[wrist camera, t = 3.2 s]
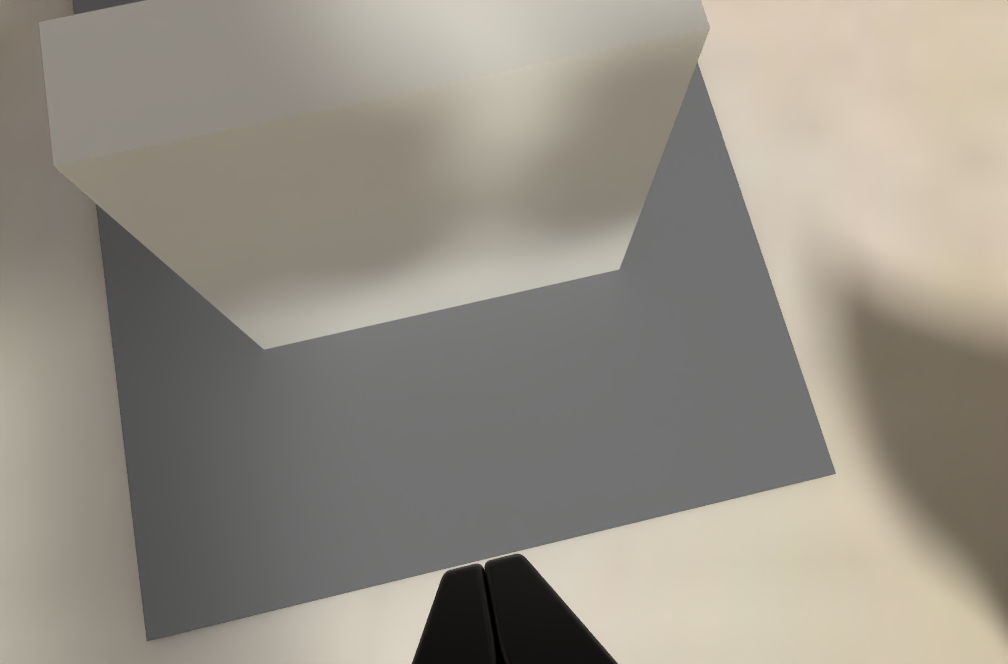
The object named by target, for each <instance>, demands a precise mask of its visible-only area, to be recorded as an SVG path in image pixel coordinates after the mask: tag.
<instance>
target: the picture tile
mask: <svg viewBox="0 0 1008 664" xmlns="http://www.w3.org/2000/svg"><path fill="white" fill-rule="evenodd" d="M38 23H39V33H40V43H41V52H42V62H43V72H44V82H45V92H46V101H47V111H48V121H49V131H50V140H51V150H52V160H53V167H55V168H56V169H57V170H58V171H59V172H60V173H62V174H63V175H64V176H65V177H66V178H67V179H68V180H70V181H71V182H72V183H73V184H74V185H75V186H76V187H78V188H79V189H80V190H81V191H82V192H83V193H84V194H86V195H87V196H88V197H89V198H90V199H91V200H93V201H94V202H95V203H96V204H97V205H98V206H99V207H101V208H102V209H103V210H104V211H105V212H106V213H107V214H109V215H110V216H111V217H112V218H113V219H114V220H116V221H117V222H118V223H119V224H120V225H121V226H122V227H124V228H125V229H126V230H127V231H128V232H129V233H130V234H132V235H133V236H134V237H135V238H136V239H137V240H139V241H140V242H141V243H142V244H143V245H144V246H145V247H147V248H148V249H149V250H150V251H151V252H152V253H153V254H155V255H156V256H157V257H158V258H159V259H160V260H162V261H163V262H164V263H165V264H166V265H167V266H168V267H170V268H171V269H172V270H173V271H174V272H175V273H176V274H178V275H179V276H180V277H181V278H182V279H183V280H185V281H186V282H187V283H188V284H189V285H190V286H191V287H193V288H194V289H195V290H196V291H197V292H198V293H199V294H201V295H202V296H203V297H204V298H205V299H206V300H208V301H209V302H210V303H211V304H212V305H213V306H214V307H216V308H217V309H218V310H219V311H220V312H221V313H222V314H224V315H225V316H226V317H227V318H228V319H229V320H231V321H232V322H233V323H234V324H235V325H236V326H237V327H239V328H240V329H241V330H242V331H243V332H244V333H245V334H247V335H248V336H249V337H250V338H251V339H252V340H254V341H255V342H256V343H257V344H258V345H259V346H260V347H262V348H263V349H264V350H265V349H269V348H274V347H278V346H282V345H287V344H291V343H296V342H300V341H305V340H309V339H313V338H318V337H322V336H327V335H331V334H336V333H340V332H344V331H349V330H353V329H358V328H362V327H367V326H371V325H375V324H380V323H384V322H389V321H393V320H398V319H402V318H406V317H411V316H415V315H420V314H424V313H429V312H433V311H437V310H442V309H446V308H451V307H455V306H460V305H464V304H468V303H473V302H477V301H482V300H486V299H491V298H495V297H499V296H504V295H508V294H513V293H517V292H522V291H526V290H530V289H535V288H539V287H544V286H548V285H553V284H557V283H561V282H566V281H570V280H575V279H579V278H584V277H588V276H592V275H597V274H601V273H606V272H610V271H615V270H619V269H620V266H621V264H622V261H623V258H624V256H625V253H626V250H627V248H628V245H629V242H630V240H631V237H632V234H633V232H634V229H635V226H636V224H637V221H638V218H639V216H640V213H641V210H642V208H643V205H644V202H645V200H646V197H647V194H648V192H649V189H650V186H651V184H652V181H653V178H654V176H655V173H656V170H657V168H658V165H659V162H660V160H661V157H662V154H663V152H664V149H665V146H666V144H667V141H668V138H669V136H670V133H671V130H672V128H673V125H674V122H675V120H676V117H677V114H678V112H679V109H680V106H681V104H682V101H683V98H684V96H685V93H686V90H687V88H688V85H689V82H690V80H691V77H692V74H693V72H694V69H695V66H696V64H697V61H698V58H699V56H700V53H701V50H702V48H703V45H704V42H705V40H706V37H707V34H708V32H709V29H710V26H709V23H708V20H707V18H706V15H705V12H704V9H703V6H702V3H701V0H145V1H140V2H135V3H130V4H125V5H120V6H115V7H110V8H105V9H100V10H95V11H90V12H85V13H80V14H75V15H70V16H65V17H60V18H55V19H50V20H45V21H40V22H38Z"/></svg>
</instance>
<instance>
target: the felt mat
mask: <svg viewBox="0 0 1008 664" xmlns="http://www.w3.org/2000/svg"><path fill="white" fill-rule="evenodd" d="M140 1H145V0H73V7H74V15H75V14H80V13H85V12H90V11H95V10H100V9H105V8H110V7H115V6H120V5H125V4H130V3H135V2H140ZM96 206H97V215H98V224H99V232H100V241H101V250H102V258H103V267H104V275H105V284H106V293H107V301H108V310H109V319H110V327H111V336H112V345H113V353H114V362H115V371H116V379H117V388H118V397H119V405H120V414H121V423H122V431H123V440H124V448H125V457H126V466H127V474H128V483H129V492H130V500H131V509H132V518H133V526H134V535H135V544H136V552H137V561H138V570H139V578H140V587H141V596H142V604H143V613H144V621H145V630H146V639H147V641H149V640H154V639H158V638H162V637H166V636H170V635H174V634H179V633H183V632H187V631H191V630H195V629H199V628H203V627H207V626H211V625H216V624H220V623H224V622H228V621H232V620H236V619H240V618H244V617H248V616H253V615H257V614H261V613H265V612H269V611H273V610H277V609H281V608H286V607H290V606H294V605H298V604H302V603H306V602H310V601H314V600H318V599H323V598H327V597H331V596H335V595H339V594H343V593H347V592H351V591H355V590H360V589H364V588H368V587H372V586H376V585H380V584H384V583H388V582H392V581H397V580H401V579H405V578H409V577H413V576H417V575H421V574H425V573H430V572H434V571H438V570H442V569H446V568H450V567H454V566H458V565H462V564H467V563H471V562H475V561H479V560H483V559H487V558H491V557H495V556H499V555H504V554H508V553H512V552H516V551H520V550H524V549H528V548H532V547H536V546H541V545H545V544H549V543H553V542H557V541H561V540H565V539H569V538H574V537H578V536H582V535H586V534H590V533H594V532H598V531H602V530H606V529H611V528H615V527H619V526H623V525H627V524H631V523H635V522H639V521H643V520H648V519H652V518H656V517H660V516H664V515H668V514H672V513H676V512H680V511H685V510H689V509H693V508H697V507H701V506H705V505H709V504H713V503H718V502H722V501H726V500H730V499H734V498H738V497H742V496H746V495H750V494H755V493H759V492H763V491H767V490H771V489H775V488H779V487H783V486H787V485H792V484H796V483H800V482H804V481H808V480H812V479H816V478H820V477H824V476H829V475H833V474H836V473H835V470H834V467H833V464H832V461H831V458H830V455H829V452H828V449H827V446H826V443H825V440H824V437H823V434H822V431H821V428H820V425H819V422H818V419H817V416H816V413H815V410H814V407H813V404H812V401H811V398H810V395H809V392H808V389H807V387H806V384H805V381H804V378H803V375H802V372H801V369H800V366H799V363H798V360H797V357H796V354H795V351H794V348H793V345H792V342H791V339H790V336H789V333H788V330H787V327H786V324H785V321H784V318H783V315H782V312H781V309H780V306H779V303H778V300H777V297H776V294H775V291H774V288H773V285H772V282H771V279H770V277H769V274H768V271H767V268H766V265H765V262H764V259H763V256H762V253H761V250H760V247H759V244H758V241H757V238H756V235H755V232H754V229H753V226H752V223H751V220H750V217H749V214H748V211H747V208H746V205H745V202H744V199H743V196H742V193H741V190H740V187H739V184H738V181H737V178H736V175H735V172H734V169H733V167H732V164H731V161H730V158H729V155H728V152H727V149H726V146H725V143H724V140H723V137H722V134H721V131H720V128H719V125H718V122H717V119H716V116H715V113H714V110H713V107H712V104H711V101H710V98H709V95H708V92H707V89H706V86H705V83H704V80H703V77H702V74H701V71H700V68H699V65H698V62H697V64H696V66H695V69H694V72H693V74H692V77H691V80H690V82H689V85H688V88H687V90H686V93H685V96H684V98H683V101H682V104H681V106H680V109H679V112H678V114H677V117H676V120H675V122H674V125H673V128H672V130H671V133H670V136H669V138H668V141H667V144H666V146H665V149H664V152H663V154H662V157H661V160H660V162H659V165H658V168H657V170H656V173H655V176H654V178H653V181H652V184H651V186H650V189H649V192H648V194H647V197H646V200H645V202H644V205H643V208H642V210H641V213H640V216H639V218H638V221H637V224H636V226H635V229H634V232H633V234H632V237H631V240H630V242H629V245H628V248H627V250H626V253H625V256H624V258H623V261H622V264H621V266H620V269H619V270H615V271H610V272H606V273H601V274H597V275H592V276H588V277H584V278H579V279H575V280H570V281H566V282H561V283H557V284H553V285H548V286H544V287H539V288H535V289H530V290H526V291H522V292H517V293H513V294H508V295H504V296H499V297H495V298H491V299H486V300H482V301H477V302H473V303H468V304H464V305H460V306H455V307H451V308H446V309H442V310H437V311H433V312H429V313H424V314H420V315H415V316H411V317H406V318H402V319H398V320H393V321H389V322H384V323H380V324H375V325H371V326H367V327H362V328H358V329H353V330H349V331H344V332H340V333H336V334H331V335H327V336H322V337H318V338H313V339H309V340H305V341H300V342H296V343H291V344H287V345H282V346H278V347H274V348H269V349H265V350H264V349H263V348H262V347H260V346H259V345H258V344H257V343H256V342H255V341H254V340H252V339H251V338H250V337H249V336H248V335H247V334H245V333H244V332H243V331H242V330H241V329H240V328H239V327H237V326H236V325H235V324H234V323H233V322H232V321H231V320H229V319H228V318H227V317H226V316H225V315H224V314H222V313H221V312H220V311H219V310H218V309H217V308H216V307H214V306H213V305H212V304H211V303H210V302H209V301H208V300H206V299H205V298H204V297H203V296H202V295H201V294H199V293H198V292H197V291H196V290H195V289H194V288H193V287H191V286H190V285H189V284H188V283H187V282H186V281H185V280H183V279H182V278H181V277H180V276H179V275H178V274H176V273H175V272H174V271H173V270H172V269H171V268H170V267H168V266H167V265H166V264H165V263H164V262H163V261H162V260H160V259H159V258H158V257H157V256H156V255H155V254H153V253H152V252H151V251H150V250H149V249H148V248H147V247H145V246H144V245H143V244H142V243H141V242H140V241H139V240H137V239H136V238H135V237H134V236H133V235H132V234H130V233H129V232H128V231H127V230H126V229H125V228H124V227H122V226H121V225H120V224H119V223H118V222H117V221H116V220H114V219H113V218H112V217H111V216H110V215H109V214H107V213H106V212H105V211H104V210H103V209H102V208H101V207H99V206H98V205H97V204H96Z"/></svg>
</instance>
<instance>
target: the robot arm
mask: <svg viewBox="0 0 1008 664" xmlns="http://www.w3.org/2000/svg"><path fill="white" fill-rule="evenodd" d="M412 664H618V663H617V662H616V661H615V660H614V659H613V657H612V656H611V655H610V654H609V653H608V652H607V650H606V649H605V648H604V647H603V646H602V645H601V644H600V642H599V641H598V640H597V639H596V638H595V637H594V636H593V634H592V633H591V632H590V631H589V630H588V629H587V628H586V626H585V625H584V624H583V623H582V622H581V621H580V619H579V618H578V617H577V616H576V615H575V614H574V613H573V611H572V610H571V609H570V608H569V607H568V606H567V605H566V603H565V602H564V601H563V600H562V599H561V598H560V597H559V595H558V594H557V593H556V592H555V591H554V590H553V588H552V587H551V586H550V585H549V584H548V583H547V582H546V580H545V579H544V578H543V577H542V576H541V575H540V574H539V572H538V571H537V570H536V569H535V568H534V567H533V566H532V564H531V563H530V562H529V561H528V560H527V559H526V558H525V557H524V556H523V555H521V554H514V555H509V556H505V557H501V558H497V559H493V560H489V561H488V562H487V563H486V564H485V570H484V568H483V566H482V565H480V564H473V565H468V566H464V567H460V568H456V569H452V570H449V571H447V572H446V573H445V574H444V575H443V577H442V579H441V582H440V584H439V587H438V590H437V593H436V596H435V599H434V602H433V604H432V607H431V610H430V613H429V616H428V619H427V622H426V625H425V627H424V630H423V633H422V636H421V639H420V642H419V645H418V648H417V650H416V653H415V656H414V659H413V662H412Z"/></svg>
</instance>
